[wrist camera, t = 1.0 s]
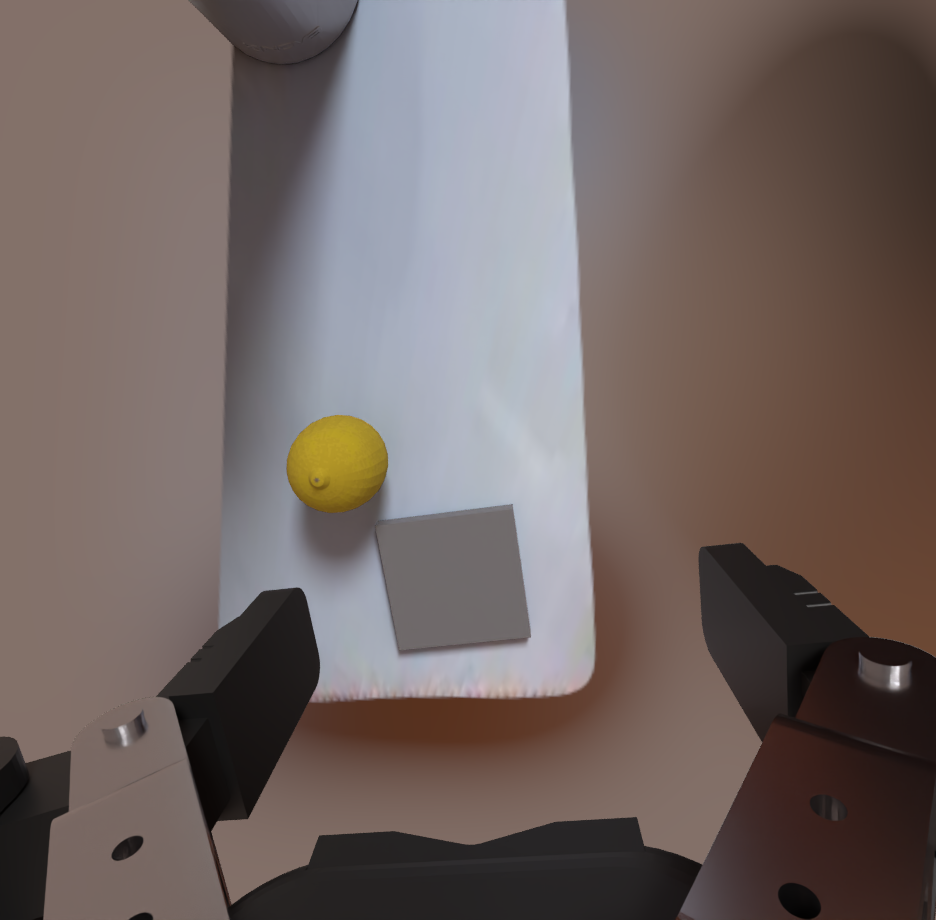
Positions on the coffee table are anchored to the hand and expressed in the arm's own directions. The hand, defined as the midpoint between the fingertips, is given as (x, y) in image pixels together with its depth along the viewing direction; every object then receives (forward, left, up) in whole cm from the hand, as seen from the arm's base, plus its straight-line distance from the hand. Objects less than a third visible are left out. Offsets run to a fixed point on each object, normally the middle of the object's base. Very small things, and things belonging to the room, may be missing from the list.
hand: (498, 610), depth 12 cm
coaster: (+10, -5, -26) cm, 28 cm away
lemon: (+1, -10, -26) cm, 28 cm away
